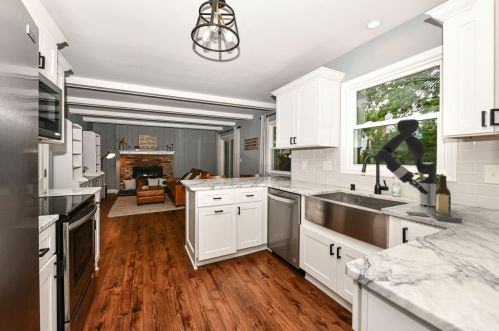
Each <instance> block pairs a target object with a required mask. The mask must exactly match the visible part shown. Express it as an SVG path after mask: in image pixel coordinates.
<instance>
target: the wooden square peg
mask: <svg viewBox="0 0 499 331" xmlns="http://www.w3.org/2000/svg"><path fill="white" fill-rule="evenodd" d="M436 213H440V214H449V196H447V195H446V194H438V195H436Z"/></svg>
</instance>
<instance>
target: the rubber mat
mask: <svg viewBox="0 0 499 331" xmlns="http://www.w3.org/2000/svg"><path fill="white" fill-rule="evenodd" d="M406 214H407V215H408V216H414V217H425V218H430V215H429V214H428V213H427V212H415V211H406Z"/></svg>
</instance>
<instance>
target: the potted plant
mask: <svg viewBox="0 0 499 331" xmlns="http://www.w3.org/2000/svg"><path fill="white" fill-rule="evenodd" d="M438 185H439V186H438V188H437V189H436V193H435V208H434V209H436V195H438V194H446V195H447V196H449V212H451V211H452V210H451V206H452V204H451V201H452V200H451V199H452V198H451V197H452V196H451V191H450V190H449V188H448V186H447V175H440V176H439V182H438Z"/></svg>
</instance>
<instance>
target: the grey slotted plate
mask: <svg viewBox="0 0 499 331" xmlns="http://www.w3.org/2000/svg"><path fill="white" fill-rule="evenodd" d="M425 213H426V214H428V215H429V216H431V217H433V218H434V219H435V220H436V221H438V222H448V223H457V224H462V223H463V220H462V218H461V217H460V216H458V215H457V214H455V213H453V212H451V211H450V212H449V214H440V213H436V209H435V208H431V207H430V208H428V207H427V208H426V212H425Z"/></svg>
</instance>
